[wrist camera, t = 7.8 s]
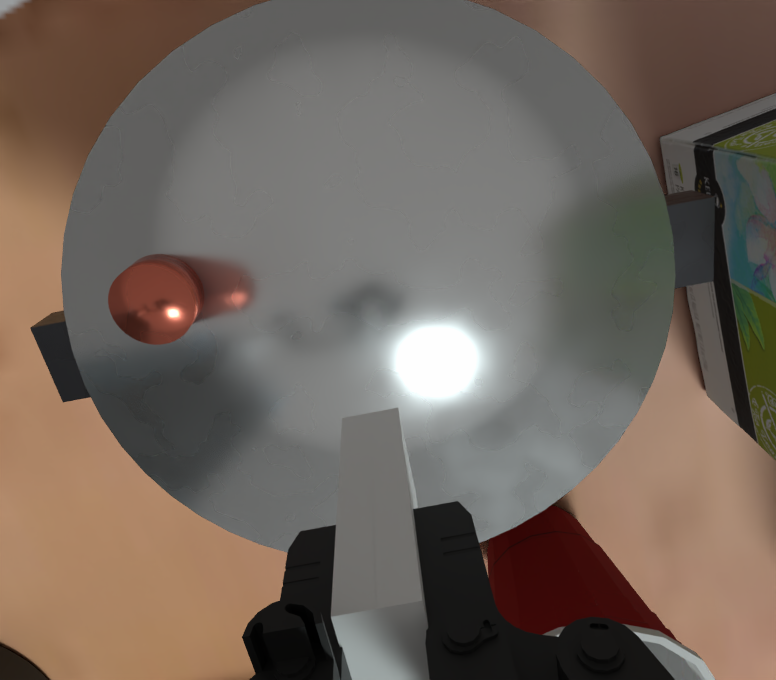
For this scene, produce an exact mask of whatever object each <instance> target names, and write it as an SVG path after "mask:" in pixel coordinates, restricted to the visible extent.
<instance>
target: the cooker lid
mask: <svg viewBox="0 0 776 680" xmlns="http://www.w3.org/2000/svg"><path fill="white" fill-rule="evenodd" d="M675 275H676V274H675V259H674V243H673V234H672V229H671V224H670V219H669V215H668V210H667V205H666V200H665V196H664V194H663V191H662V188H661V186H660V183H659V180H658V177H657V175H656V172H655V169H654V166H653V164H652V161H651V159H650V157H649V155H648V153H647V151H646V150H645V148H644V146H643V144H642V142H641V140H640V139H639V137H638V135H637V133H636V131H635V129H634V128H633V126H632V124H631V122H630V121H629V120H628V118H627V117H626V116H625V114H624V113H623V112H622V110H621V109H620V108H619V106H618V105H617V104H616V102H615V101H614V100H613V99H612V97H611V96H610V95H609V93H608V92H607V91H606V89H605V88H604V87H603V86H602V85H601V84H600V83H599V82H598V81H597V80H596V79H595V78H594V77H593V76H592V75H591V74H590V73H589V72H587V71H586V70H585V69H584V68H583V67H582V66H581V65H580V64H579V63H578V62H577V61H576V60H575V59H574V58H573V57H572V56H570V55H569V54H568V53H566V52H565V51H563V50H562V49H561V48H559V47H558V46H556V45H555V44H554V43H552V42H551V41H549V40H548V39H547V38H545V37H544V36H542V35H541V34H540V33H538V32H537V31H535V30H534V29H532V28H530V27H528V26H526V25H524V24H522V23H520V22H518V21H516V20H514V19H512V18H510V17H508V16H506V15H504V14H502V13H500V12H498V11H496V10H494V9H492V8H489V7H486V6H483V5H480V4H477V3H474V2H471V1H468V0H270V1H267V2H263V3H260V4H257V5H254V6H252V7H250V8H247V9H245V10H243V11H241V12H239V13H237V14H235V15H232V16H230V17H228V18H226V19H224V20H222V21H219V22H217V23H215V24H213V25H211V26H210V27H208V28H207V29H205V30H204V31H202V32H201V33H199V34H198V35H196V36H195V37H193V38H192V39H190V40H189V41H187V42H186V43H184V44H183V45H181V46H180V47H178V48H177V49H175V50H174V51H172V52H171V53H170V54H169V55H168V56H167V57H166V58H164V59H163V60H162V61H161V62H160V63H159V64H158V65H157V66H156V67H155V68H154V69H152V70H151V71H150V72H149V73H148V74H147V75H146V76H145V77H144V78H143V79H141V80H140V81H139V82H138V83H137V85H136V86H135V87H134V88H133V90H132V91H131V92H130V93H129V95H128V96H127V97H126V98H125V100H124V101H123V102H122V103H121V105H120V106H119V107H118V108H117V110H116V111H115V112H114V113H113V115H112V116H111V117H110V119H109V120H108V122H107V124H106V125H105V127H104V129H103V131H102V132H101V134H100V136H99V138H98V139H97V141H96V143H95V145H94V146H93V148H92V150H91V151H90V153H89V155H88V157H87V160H86V163H85V165H84V168H83V170H82V173H81V175H80V178H79V181H78V183H77V186H76V188H75V191H74V193H73V197H72V201H71V206H70V210H69V215H68V219H67V224H66V228H65V233H64V242H63V256H62V270H61V279H62V293H63V307H64V316H65V320H66V325H67V329H68V334H69V339H70V343H71V348H72V352H73V354H74V357H75V360H76V363H77V365H78V368H79V371H80V374H81V376H82V379H83V382H84V385H85V387H86V389H87V391H88V392H89V394H90V396H91V398H92V400H93V402H94V404H95V406H96V408H97V410H98V412H99V414H100V415H101V417H102V419H103V420H104V422H105V423H106V425H107V426H108V427H109V429H110V430H111V432H112V433H113V435H114V436H115V438H116V439H117V440H118V442H119V443H120V445H121V446H122V447H123V448H124V450H125V451H126V452H127V453H128V454H129V455H130V456H131V457H132V459H133V460H134V461H135V462H136V463H137V464H138V465H139V466H140V468H141V469H142V470H143V471H144V472H145V473H146V474H147V475H148V476H149V477H151V478H152V479H153V480H154V481H155V482H156V483H157V484H158V485H160V486H161V487H162V488H163V489H164V490H165V491H166V492H168V493H169V494H170V495H171V496H172V497H174V498H175V499H177V500H178V501H179V502H181V503H182V504H184V505H185V506H187V507H188V508H189V509H191V510H192V511H194V512H195V513H197V514H198V515H200V516H201V517H203V518H205V519H207V520H209V521H211V522H212V523H214V524H216V525H218V526H220V527H222V528H223V529H225V530H227V531H229V532H231V533H234V534H236V535H239V536H241V537H243V538H246V539H248V540H251V541H253V542H255V543H258V544H261V545H264V546H267V547H271V548H274V549H277V550H281V551H284V552H288V549H289V547H290V546H291V544H292V543H293V541H294V540H295V538H296V537H297V535H298V534H299V532H300V531H304V530H310V529H315V528H321V527H326V526H332V525H336V517H337V499H338V482H339V464H340V446H341V429H342V418H345V417H350V416H356V415H361V414H366V413H372V412H377V411H382V410H388V409H393V408H399V413H400V418H401V423H402V428H403V433H404V438H405V442H406V447H407V452H408V457H409V462H410V467H411V472H412V477H413V482H414V486H415V491H416V498H417V505H418V508H422V507H427V506H433V505H438V504H444V503H449V502H455V501H458V502H459V503H460V504H461V505H462V506H463V507H464V508H465V509H466V510H467V511H468V512H469V513H470V514H471V515H472V519H473V523H474V526H475V530H476V535H477V538H478V541H479V543H480V542H483V541H486V540H488V539H490V538H492V537H495V536H497V535H499V534H501V533H503V532H506V531H508V530H510V529H512V528H514V527H516V526H518V525H520V524H522V523H523V522H525V521H527V520H528V519H530V518H532V517H533V516H535V515H537V514H539V513H540V512H542V511H544V510H545V509H547V508H548V507H549V506H551V505H552V504H553V503H555V502H556V501H557V500H559V499H560V498H561V497H563V496H564V495H565V494H567V493H568V492H569V491H571V490H572V489H573V488H574V487H575V486H576V485H577V484H578V483H579V482H581V481H582V480H583V479H584V478H585V477H586V476H587V475H588V474H589V473H590V472H591V471H592V470H593V469H595V468H596V467H597V465H598V464H599V463H600V462H601V461H602V460H603V458H604V457H605V456H606V455H607V454H608V453H609V451H610V450H611V449H612V448H613V447H614V445H615V444H616V443H617V442H618V441H619V439H620V438H621V436H622V435H623V433H624V432H625V430H626V429H627V427H628V426H629V424H630V423H631V421H632V420H633V418H634V417H635V415H636V414H637V412H638V410H639V408H640V406H641V404H642V402H643V400H644V398H645V396H646V394H647V392H648V390H649V388H650V386H651V384H652V382H653V380H654V377H655V375H656V372H657V369H658V366H659V363H660V360H661V358H662V355H663V352H664V349H665V346H666V341H667V336H668V332H669V327H670V322H671V317H672V313H673V301H674V288H675Z"/></svg>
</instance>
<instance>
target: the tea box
mask: <svg viewBox="0 0 776 680" xmlns="http://www.w3.org/2000/svg"><path fill="white" fill-rule="evenodd" d="M660 143H661V149H662V155H663V162H664V168H665V177H666V183H667V189H668V194H673V193H678V192H684V191H689V190H693V191H696V192H700V193H703V194H707V195H710V196H714V197H715V222H714V281H712V282H707V283H701V284H696V285H691V286H686V288H687V297H688V303H689V307H690V312H691V316H692V320H693V324H694V330H695V335H696V340H697V349H698V354H699V359H700V364H701V368H702V372H703V377H704V382H705V387H706V393H707V396H708V397H709V398H710V399H711V400H712V401H713V402H714V403H715V404H716V405H717V406H718V407H719V408H720V409H721V410H722V411H723V412H724V413H725V414H726V415H727V416H728V417H729V418H730V419H732V420H733V421H734V422H735V423H736V424H737V425H739V426H740V427H741V428H742V429H743V430H744V431H745V432H746V433H748V434H749V435H750V437H751V438H753V439H754V440H755V441H756V442H757V443H758V444H759V445H760V446H761V447H762V448H763V449H764V450H765V451H766V452H767V453H768V454H769V455H770V456H771V457H773V458H774V459H775V460H776V93H775V94H772V95H769V96H767V97H764V98H761V99H759V100H756V101H754V102H751V103H749V104H746V105H744V106H741V107H739V108H736V109H734V110H731V111H728V112H725V113H723V114H720V115H718V116H715V117H712V118H710V119H707V120H704V121H702V122H699V123H696V124H693V125H691V126H689V127H686V128H684V129H681V130H678V131H676V132H673V133H671V134H668V135H665V136H662V137H661V138H660Z"/></svg>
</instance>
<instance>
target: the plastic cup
mask: <svg viewBox="0 0 776 680" xmlns="http://www.w3.org/2000/svg"><path fill="white" fill-rule="evenodd" d="M487 557H488V577H489V582H490V586H491V590H492V593H493V597H494V601H495V604H496V606H497V609H498V611H499V612H500V614H501V615H502V616H503V617H504V619H505V620H506V621H508V622H509V623H511V624H512V625H513V626H515V627H517V628H519V629H521V630H524V631H526V632H530V633H535V634H540V635H549V636H557V637H559V635H560V633H561V632H562V630H563V628H564V627H566V626H567V625H569V624H571V623H572V622H574V621H575V620H578V619H583V618H587V617H601V618H609V619H611V620H614V621H616V622H619V623H621V624H623V625H625V626H627V627H628V628H629V629H630V630H631V631H632V632H634V633H635V634H636V635H637V636H638V637H639V638H640V639H641V640H642V641H643V643H644V644H645V645H646V646H647V647H648V648H649V650H650V651H651V652H652V653H653V654H654V655H655V657H656V658H657V659H658V660H659V661H660V662H661V664H662V665H663V666H664V667H665V668H666V669H667V671H668V672H669V673H670V674H671V675H672V677H673V678H674V679H675V680H715V678H714V677H713V675H712V674H711V672H710V671H709V669H708V667H707V666H706V664H705V663H704V661H703V660H702V659H701V658H700V657H699V655H698V654H697V653H696V652H694V651H692V650H691V649H689V648H687V647H686V646H684V645H682V643H681V642H679V641H677V640H676V638H675V637H674V635H673V634H672V633H671V631H670V630H669V629H667V628H665V626H664V625H663V624H662V622H661V621H660V619H659V618H658V617H657V615H656V614H655V613H653V612H652V611H651V610H650V609H649V608H648V607H647V605H646V604H645V603H644V602H643V600H642V599H641V598H640V596H639V595H638V594H637V593H636V591H635V590H634V589H633V588H632V586H631V585H630V584H629V582H628V581H627V580H626V579H625V577H624V576H623V575H622V574H621V572H620V571H619V570H618V568H617V567H616V566H615V565H614V563H613V562H612V561H611V560H610V558H609V557H608V556H607V554H606V553H605V552H604V551H603V549H602V548H601V547H600V546H599V545H598V544H596V543H595V542H594V541H593V540H592V538H591V537H590V536H589V534H588V533H587V532H586V531H585V529H584V528H583V527H582V526H581V524H580V523H579V522H578V520H577V519H575V518H574V517H572V516H571V514H569V513H567V512H566V511H564V510H562V509H561V508H559V507H557V506H553V505H551V506H549V507H548V508H547V509H545V510H544V511H542V512H540V513H539V514H537V515H535V516H533V517H532V518H530V519H528V520H527V521H525V522H523V523H522V524H520V525H518V526H516V527H514V528H512V529H510V530H508V531H506V532H503V533H501V534H499V535H497V536H495V537H492V538H490V540H489V546H488V549H487Z"/></svg>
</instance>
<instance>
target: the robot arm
mask: <svg viewBox="0 0 776 680" xmlns="http://www.w3.org/2000/svg"><path fill="white" fill-rule="evenodd" d="M285 569H286V571H285V573H284V579H283V587H282V592H281V598H280V601H277V602H274V603H272V604H270V605H269V606H267V607H265V608H264V609H262V610H261V611H259V612H258V613H257V614H256V615H255V616H254V618H253V619H252V620H251V621H250V622H249V623H248V625H247V627H246V629H245V632H244V634H243V636H242V638H243V641H244V644H245V646H246V649H247V652H248V654H249V657H250V660H251V662H252V665H253V668H254V670H255V673H256V674H255V675H254V676H253V677H252V678H251V679H250V680H675V679H674V678H673V677H672V675H671V674H670V673H669V672H668V671H667V669H666V668H665V667H664V666H663V665H662V664H661V662H660V661H659V660H658V659H657V658H656V657H655V655H654V654H653V653H652V652H651V651H650V650H649V648H648V647H647V646H646V645H645V644H644V643H643V641H642V640H641V639H640V638H639V637H638V636H637V635H636V634H635V633H634V632H632V631H631V630H630V629H629V628H628V627H627V626H625V625H623V624H621V623H619V622H616V621H614V620H611V619H609V618H601V617H587V618H583V619H578V620H575V621H574V622H572V623H571V624H569V625H567V626H566V627H564V628H563V630H562V632H561V633H560V635H559V637H557V636H549V635H540V634H535V633H530V632H526V631H524V630H521V629H519V628H517V627H515V626H513V625H512V624H511V623H509V622H508V621H506V620H505V619H504V617H503V616H502V615H501V614H500V612H499V611H498V609H497V606H496V604H495V601H494V597H493V593H492V590H491V586H490V582H489V579H488V575H487V571H486V567H485V564H484V560H483V556H482V552H481V550H480V545H479V541H478V538H477V535H476V530H475V526H474V523H473V519H472V515H471V514H470V513H469V512H468V511H467V510H466V509H465V508H464V507H463V506H462V505H461V504H460V503H459V502H458V501H455V502H449V503H444V504H438V505H433V506H427V507H422V508H418V505H417V498H416V491H415V486H414V482H413V477H412V472H411V467H410V462H409V457H408V452H407V447H406V442H405V438H404V433H403V428H402V423H401V418H400V413H399V408H393V409H388V410H382V411H377V412H372V413H366V414H361V415H356V416H350V417H345V418H342V429H341V446H340V464H339V482H338V499H337V517H336V525H332V526H326V527H321V528H315V529H310V530H304V531H300V532H299V534H298V535H297V537H296V538H295V540H294V541H293V543H292V544H291V546H290V547H289V549H288V554H287V561H286V567H285ZM0 680H48V679H47V678H46V677H45V676H44V675H43V674H42V673H41V672H40V671H38V670H37V669H36V668H35V667H34V666H32V665H31V664H30V663H29V662H27V661H26V660H24V659H23V658H21V657H19V656H18V655H16V654H15V653H13V652H11V651H9V650H7V649H5V648H3V647H1V646H0Z"/></svg>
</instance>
